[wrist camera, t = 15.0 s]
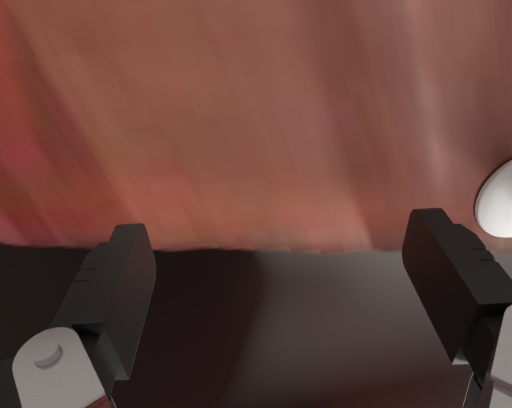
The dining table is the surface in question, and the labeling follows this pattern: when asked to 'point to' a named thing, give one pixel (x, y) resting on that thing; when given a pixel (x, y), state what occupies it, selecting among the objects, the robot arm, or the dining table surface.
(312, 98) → the dining table surface
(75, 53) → the dining table surface
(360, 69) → the dining table surface
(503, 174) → the candlestick
